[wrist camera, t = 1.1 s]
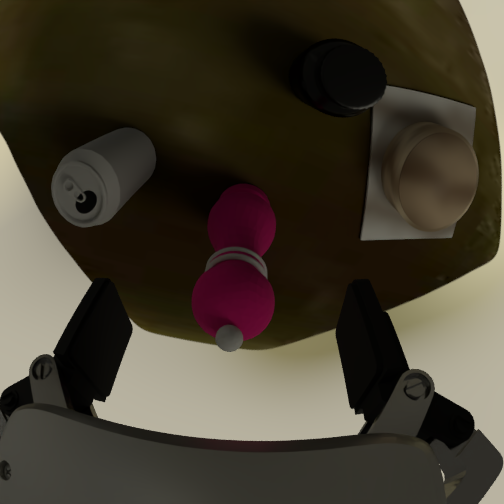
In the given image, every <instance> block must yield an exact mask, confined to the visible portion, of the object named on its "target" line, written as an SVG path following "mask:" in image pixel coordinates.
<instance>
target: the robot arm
mask: <svg viewBox="0 0 504 504" xmlns="http://www.w3.org/2000/svg"><path fill="white" fill-rule="evenodd" d="M132 330H133V328H132V324H131V322H130V320H129V317H128V315H127V313H126V311H125V309H124V306H123V304H122V302H121V299H120V297H119V295H118V292H117V290H116V287H115V285H114V283H113V282H111V281H110V279H108V278H96V279H95V280H94V281H93V283H92V284H91V286H90V288H89V289H88V291H87V292H86V294H85V296H84V297H83V299H82V301H81V302H80V304H79V306H78V307H77V309H76V311H75V312H74V314H73V316H72V318H71V319H70V321H69V323H68V325H67V327H66V328H65V330H64V332H63V334H62V336H61V338H60V340H59V341H58V344H57V345H56V348H55V349H54V351H53V353H54V354H55V355H54V357H52V356H51V355H48V354H44V355H40V356H39V357H37V358H36V359H35V360H34V361H33V362H32V364H31V366H30V369H29V376H27V377H26V378H24V379H22V380H20V381H18V382H17V383H15V384H13V385H11V386H10V387H8V388H7V389H5V390H4V391H3V393H2V395H1V397H0V504H478V503H479V502H480V501H481V499H482V498H483V497H484V495H485V494H486V492H487V491H488V490H489V488H490V487H491V486H492V484H493V483H494V481H495V480H496V478H497V477H498V475H499V474H500V472H501V470H502V467H503V458H502V456H501V454H500V453H499V452H498V450H497V449H496V448H495V447H494V446H493V445H492V444H491V442H490V441H489V440H488V439H487V438H486V437H485V436H484V435H483V433H482V432H481V431H480V430H479V429H478V430H477V431H476V430H475V429H474V419H473V416H472V415H471V413H470V412H468V411H467V410H466V409H464V408H462V407H461V406H459V405H457V404H455V403H453V402H452V401H450V400H448V399H447V398H445V397H443V396H441V395H440V394H438V393H436V392H435V391H434V390H435V387H434V382H433V380H432V378H431V377H430V376H429V375H428V374H427V373H426V372H424V371H422V370H419V369H411V370H410V369H409V367H408V364H407V361H406V358H405V355H404V352H403V350H402V347H401V345H400V342H399V339H398V337H397V334H396V331H395V329H394V326H393V324H392V321H391V319H390V317H389V315H388V313H387V312H385V311H382V309H381V306H380V304H379V302H378V299H377V297H376V294H375V292H374V290H373V287H372V285H371V283H370V281H369V280H368V279H357V280H353V282H352V283H351V284H349V285H348V287H347V291H346V295H345V299H344V303H343V306H342V310H341V314H340V317H339V321H338V324H337V327H336V339H337V344H338V349H339V353H340V358H341V363H342V368H343V373H344V378H345V383H346V389H347V394H348V399H349V405H350V407H351V409H353V408H354V409H355V414H364V419H365V420H366V422H365V424H364V425H363V427H362V429H361V430H360V432H359V433H358V435H350V436H341V437H332V438H322V439H307V440H291V441H237V440H218V439H206V438H196V437H188V436H181V435H173V434H167V433H161V432H156V431H150V430H145V429H140V428H135V427H131V426H127V425H122V424H118V423H114V422H111V421H107V420H103V419H100V418H98V416H97V414H96V412H95V409H94V407H93V404H92V402H93V399H95V400H98V401H102V402H105V400H106V397H107V396H109V395H110V393H111V390H112V387H113V384H114V381H115V378H116V375H117V372H118V369H119V367H120V364H121V361H122V358H123V355H124V353H125V350H126V347H127V345H128V342H129V339H130V337H131V334H132ZM439 464H440V465H439ZM441 470H442V471H443V473H444V475H445V481H444V482H443V477H442V473H441Z"/></svg>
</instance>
